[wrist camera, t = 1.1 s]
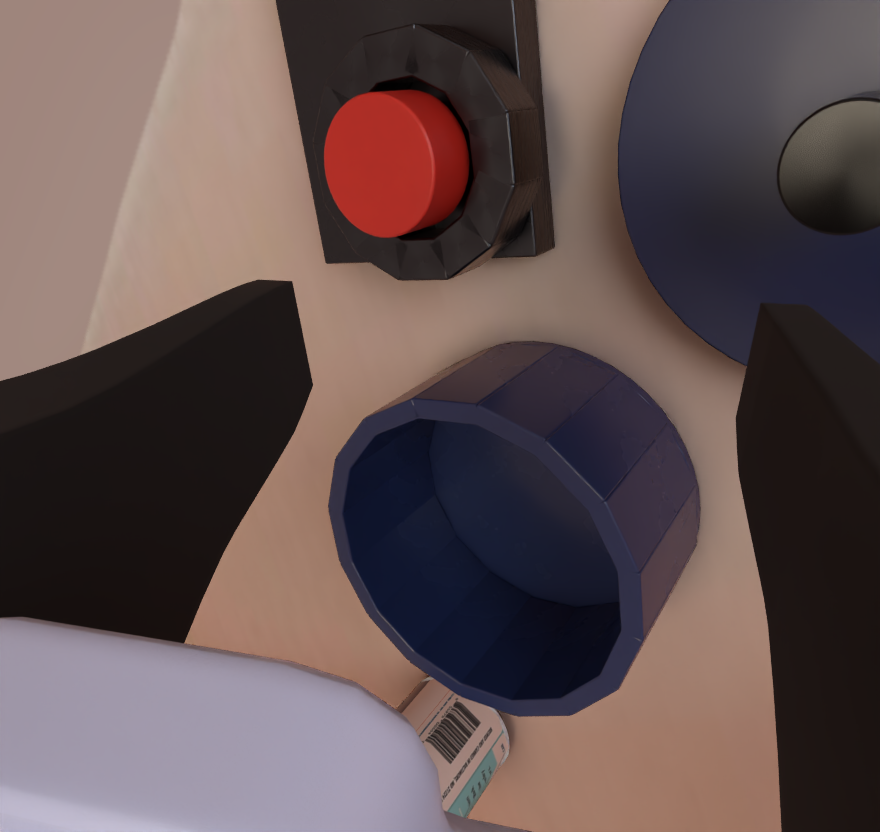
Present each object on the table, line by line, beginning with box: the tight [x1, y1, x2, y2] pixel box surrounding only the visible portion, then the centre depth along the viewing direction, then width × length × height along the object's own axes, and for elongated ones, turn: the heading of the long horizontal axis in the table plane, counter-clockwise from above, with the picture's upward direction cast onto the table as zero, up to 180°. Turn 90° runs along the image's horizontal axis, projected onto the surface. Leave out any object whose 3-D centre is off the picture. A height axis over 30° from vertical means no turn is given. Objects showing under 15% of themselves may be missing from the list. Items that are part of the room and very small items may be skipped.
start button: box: [324, 90, 469, 238], centre depth 20 cm, size 4×4×2 cm
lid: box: [618, 0, 880, 366], centre depth 15 cm, size 11×11×4 cm
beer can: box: [396, 677, 509, 818], centre depth 28 cm, size 5×5×12 cm
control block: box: [276, 0, 555, 281], centre depth 21 cm, size 10×8×3 cm
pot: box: [328, 341, 700, 717], centre depth 23 cm, size 10×10×5 cm
